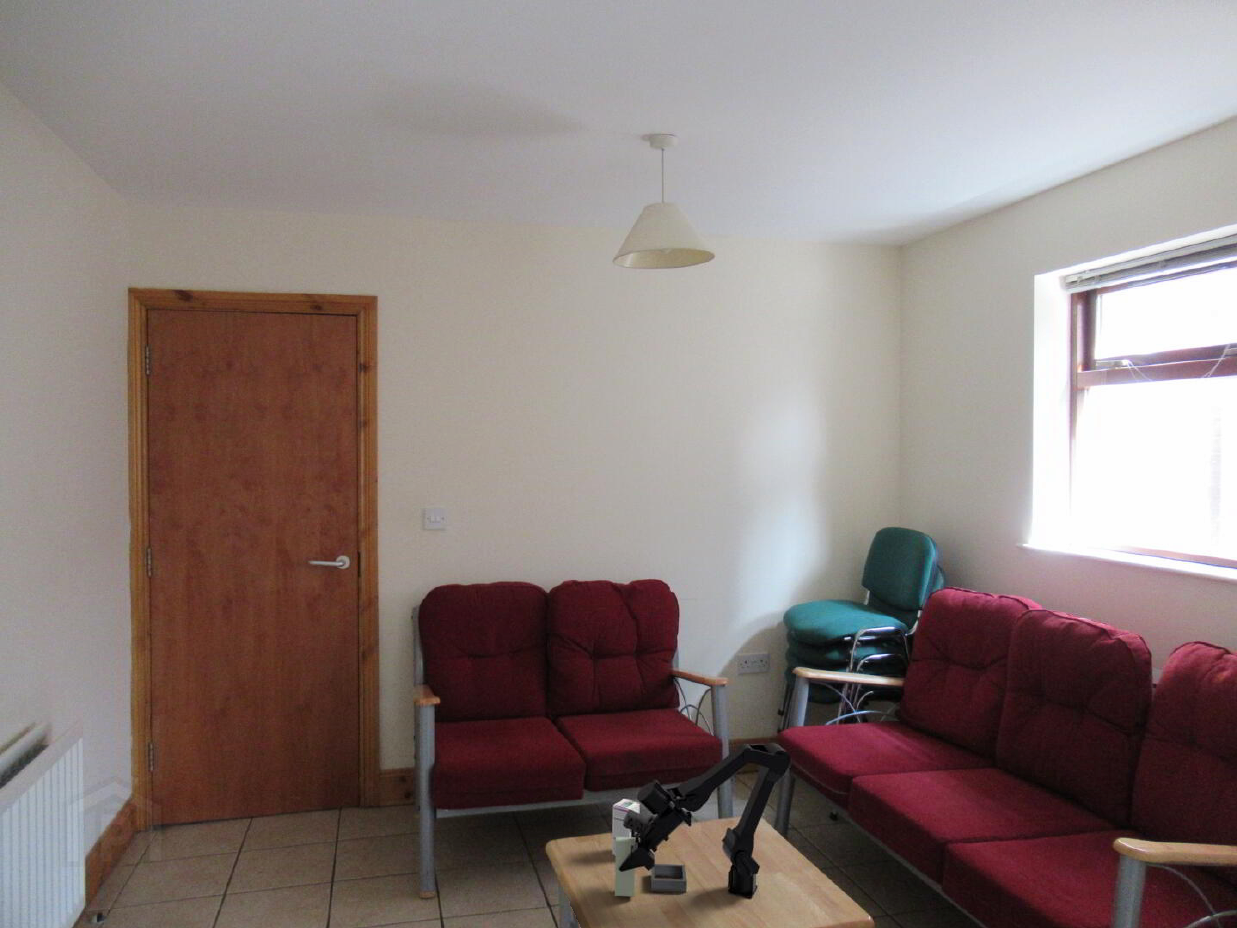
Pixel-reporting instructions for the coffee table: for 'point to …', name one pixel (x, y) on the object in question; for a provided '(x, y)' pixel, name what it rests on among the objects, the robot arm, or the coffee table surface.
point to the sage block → (625, 878)
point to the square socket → (668, 884)
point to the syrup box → (621, 820)
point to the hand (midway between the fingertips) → (619, 865)
